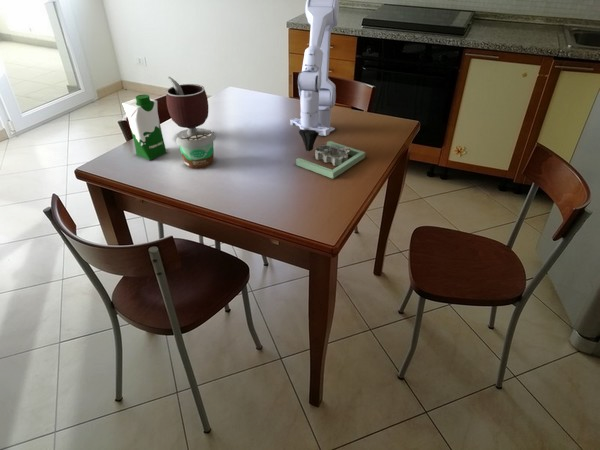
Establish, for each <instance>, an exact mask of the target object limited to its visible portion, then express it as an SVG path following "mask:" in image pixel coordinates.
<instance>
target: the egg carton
mask: <svg viewBox="0 0 600 450" xmlns="http://www.w3.org/2000/svg"><path fill="white" fill-rule="evenodd" d="M313 150H314V156H315V160H316V161H317V160H318V161H319V160H322V161H323V162H324V163H325V164H327V163H332V166H335V167H336V166H339V165H341V164H342V163H344V162H345V161H347V160H348V159H349V155H348V154H347V152H349V151H350V149H349V148H346V147H342V148H340V147H335V146H327V143H323V144H320V145H318V146H316V147H313Z"/></svg>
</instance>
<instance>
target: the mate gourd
mask: <svg viewBox="0 0 600 450" xmlns="http://www.w3.org/2000/svg"><path fill="white" fill-rule="evenodd" d="M167 79H168V80H169V81H170V82H171V85H172V86H171V87H168V88H167V89H166V91H165V93H166V95H165V96H166V97H165V98H166V107H167V111H168V113H169V116H170V118H171V121H172V122H173V123H175V124H176V125H177V126H178V127H180V128H185V129H184V130H180V131H179V132H178V133H177V134H176V135H175V140H176V139H177V137H178V138H180V139H182V138H186V137H190V136H192V135H197V134H207V133H211V132H210V131H209V129H206V128H199V126H202V125H203V124H205V122H206V121H207V119H208V117H209V100H208V96H207V92H206V89H205V86H203V85H201V84H196V83H183V84H180V83H178V81H176V80H175V79H174V78H172V77H171V76H168V77H167ZM197 127H198V128H197Z"/></svg>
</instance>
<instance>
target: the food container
mask: <svg viewBox="0 0 600 450" xmlns="http://www.w3.org/2000/svg"><path fill="white" fill-rule="evenodd" d="M215 140H216V135H215V132H214V131H213V129H211V132H210V133H207V134H197V135H192V136H190V137H186V138H182V139H180V138H178V137H177V139H176V138H175V143H176V145H177V146H179V150H180V153H181V157H182V160H183V163H184V166H185V167H187V168H189V169H192V170H201V169H207V168H208V167H210V166H212V165H213V164H214V162H215V153H214V149H215V148H214V142H215Z"/></svg>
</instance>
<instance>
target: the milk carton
mask: <svg viewBox="0 0 600 450" xmlns="http://www.w3.org/2000/svg"><path fill="white" fill-rule="evenodd" d="M121 104H122V107H123V109H124V112H125V114H126V116H127V120H128V124H129V127H130V131H131V135H132V139H133V144H134V148H135V154H136V156H138V157H140V158H143V159H145V160H147V161H152V160H154V159H156V158H159V157H161V156H163V155H165V154H167V149H166V144H165V140H164V136H163V132H162V127H161V122H160V118H159V112H158V111H159V110H158V100H156V99H152V98H150V95H149V94H139V95H136V96H135V98H134V99H131V100H128V101H124V102H122V103H121Z"/></svg>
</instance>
